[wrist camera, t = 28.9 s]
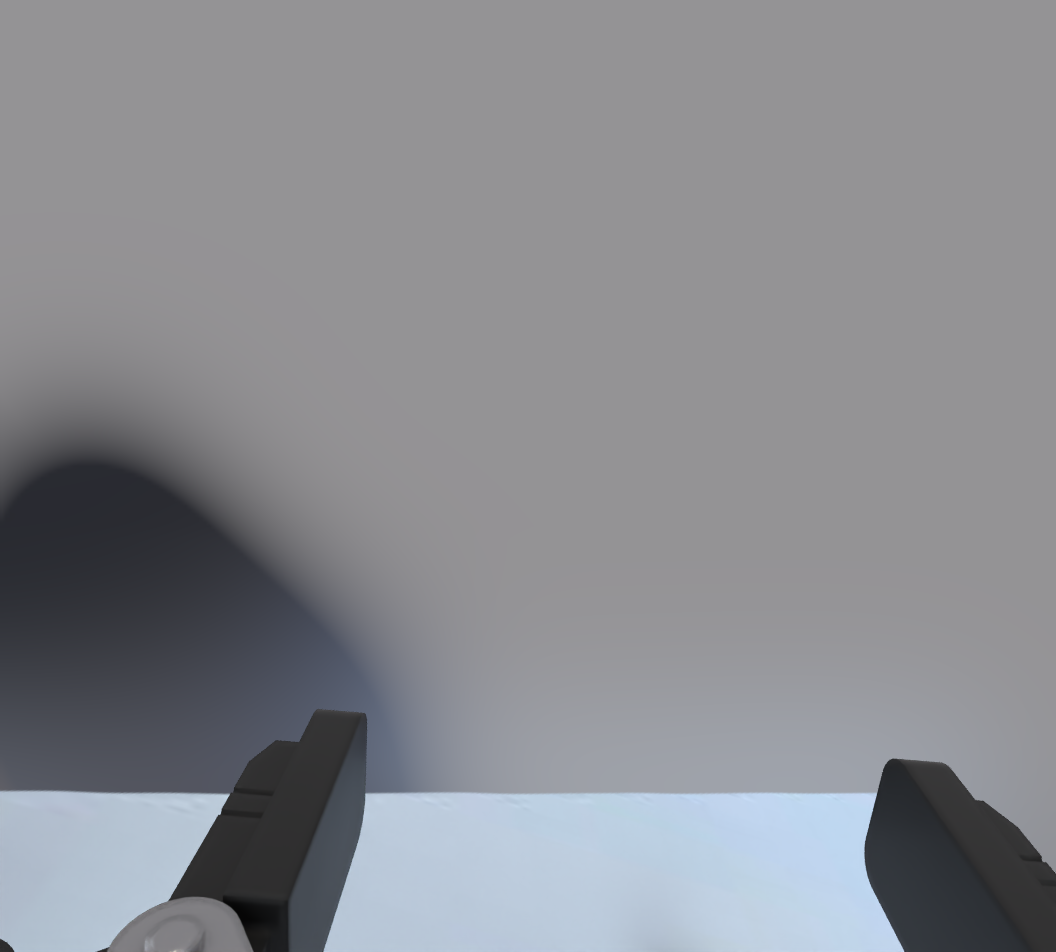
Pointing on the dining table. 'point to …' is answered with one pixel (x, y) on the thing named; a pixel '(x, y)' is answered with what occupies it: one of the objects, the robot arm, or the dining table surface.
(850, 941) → the dining table surface
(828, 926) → the dining table surface
